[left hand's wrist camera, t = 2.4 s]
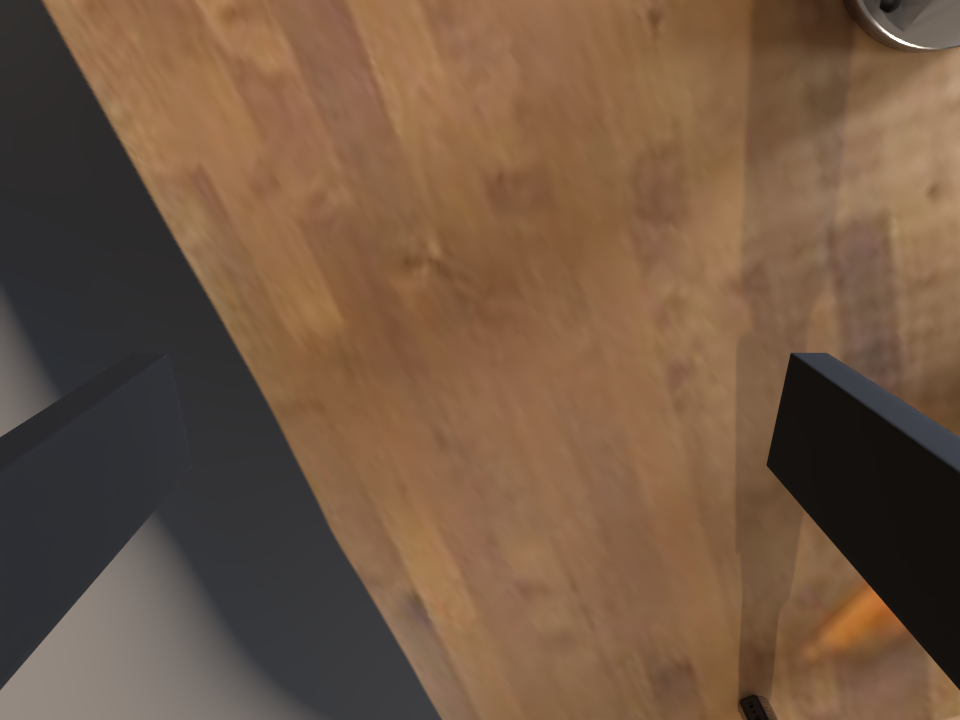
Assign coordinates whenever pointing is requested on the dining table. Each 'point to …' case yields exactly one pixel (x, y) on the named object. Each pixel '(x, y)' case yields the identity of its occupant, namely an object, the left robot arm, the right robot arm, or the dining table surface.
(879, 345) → the dining table surface
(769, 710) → the tin
